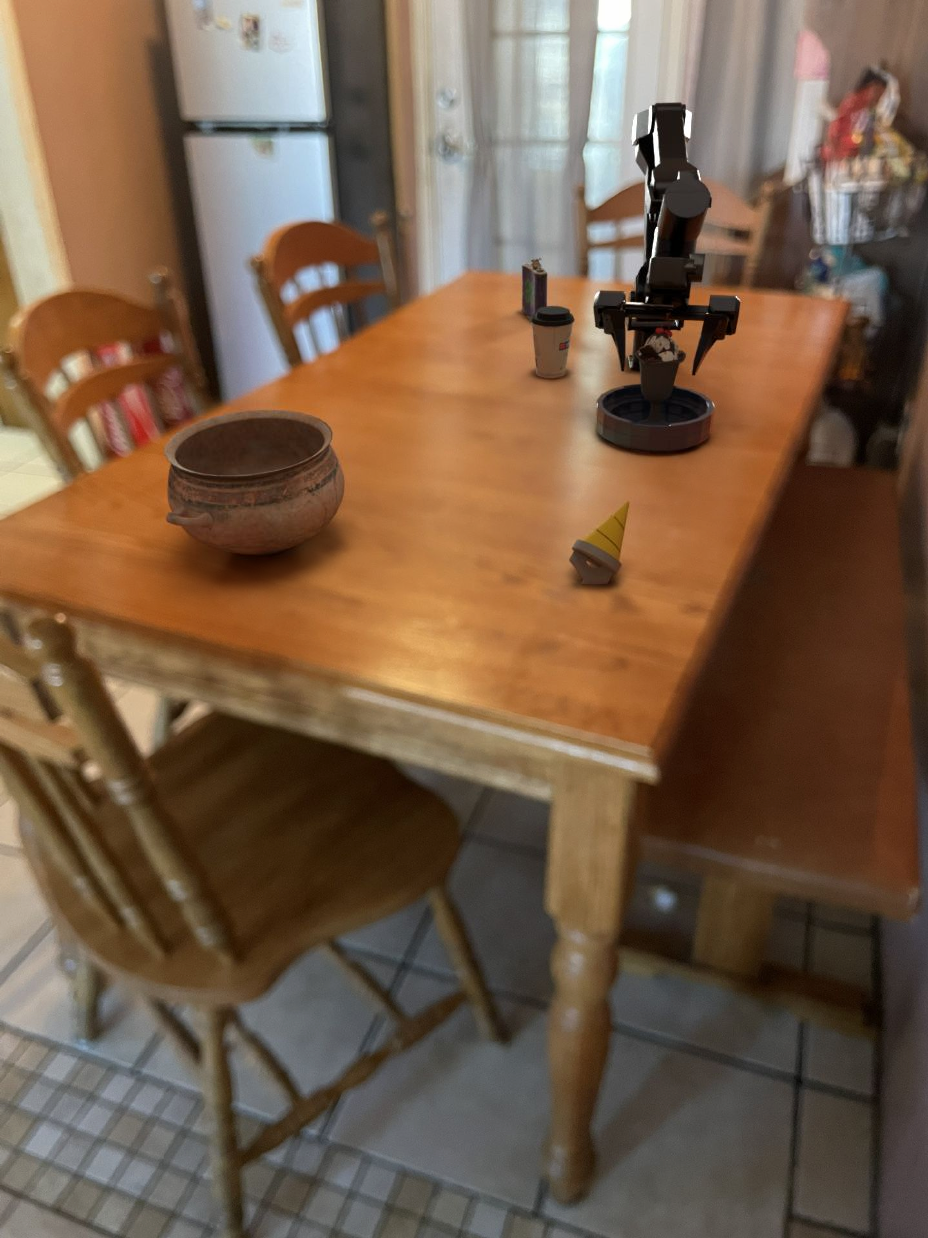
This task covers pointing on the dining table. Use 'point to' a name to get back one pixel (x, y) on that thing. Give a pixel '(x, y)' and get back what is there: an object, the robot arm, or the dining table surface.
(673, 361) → the sundae
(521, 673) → the dining table surface
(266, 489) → the cooking pot
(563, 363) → the coffee cup
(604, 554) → the drill bit
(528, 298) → the flask
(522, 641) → the dining table surface
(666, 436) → the bowl
